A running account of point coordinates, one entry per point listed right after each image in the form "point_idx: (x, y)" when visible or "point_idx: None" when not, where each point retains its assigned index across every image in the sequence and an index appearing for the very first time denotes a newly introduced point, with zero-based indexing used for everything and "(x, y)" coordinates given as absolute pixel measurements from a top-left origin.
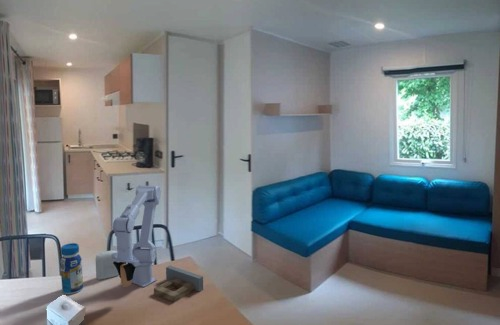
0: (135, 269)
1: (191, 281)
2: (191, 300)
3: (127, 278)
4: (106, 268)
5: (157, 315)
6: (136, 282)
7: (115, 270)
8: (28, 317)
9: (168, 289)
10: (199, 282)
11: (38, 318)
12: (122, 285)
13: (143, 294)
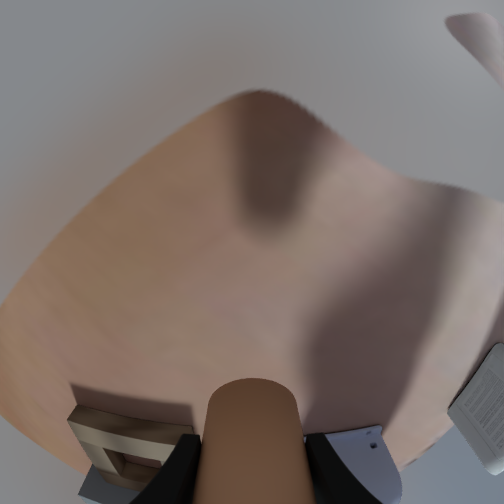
0: (364, 486)
1: (116, 491)
2: (60, 424)
3: (175, 453)
4: (498, 397)
5: (37, 311)
6: (342, 438)
7: (465, 416)
8: (473, 29)
9: (131, 453)
10: (82, 485)
11: (451, 27)
12: (248, 384)
13: None
